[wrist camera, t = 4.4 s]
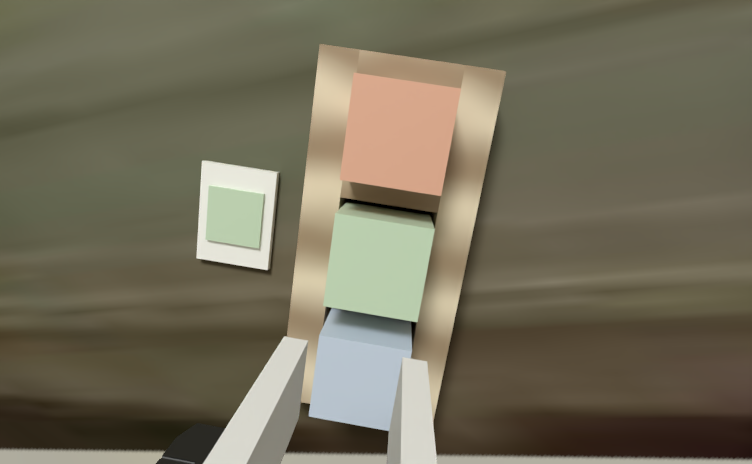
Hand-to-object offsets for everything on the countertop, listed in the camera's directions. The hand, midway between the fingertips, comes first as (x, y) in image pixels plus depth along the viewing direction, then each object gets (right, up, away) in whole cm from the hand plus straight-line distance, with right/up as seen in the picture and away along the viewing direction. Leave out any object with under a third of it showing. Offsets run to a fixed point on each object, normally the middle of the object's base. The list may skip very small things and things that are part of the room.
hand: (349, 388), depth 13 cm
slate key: (0, -4, +19) cm, 19 cm away
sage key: (+1, +4, +17) cm, 18 cm away
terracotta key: (+2, +11, +15) cm, 19 cm away
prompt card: (-10, +6, +20) cm, 24 cm away
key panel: (+2, +4, +20) cm, 21 cm away
